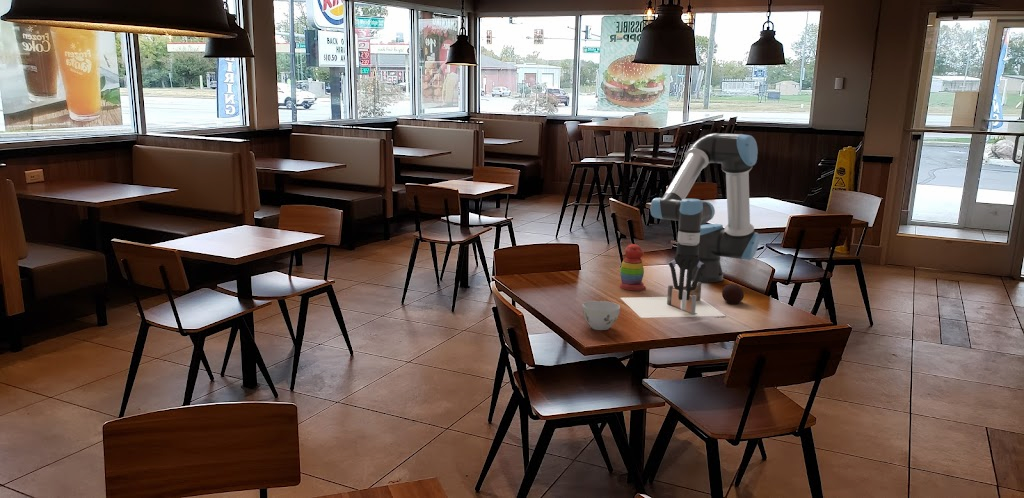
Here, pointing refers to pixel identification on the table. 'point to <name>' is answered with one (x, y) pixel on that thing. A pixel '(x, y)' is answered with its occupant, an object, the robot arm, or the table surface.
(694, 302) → the fence panel
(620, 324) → the table surface
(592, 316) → the teacup
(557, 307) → the table surface
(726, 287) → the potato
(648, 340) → the table surface
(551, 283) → the table surface
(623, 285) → the stacking bear
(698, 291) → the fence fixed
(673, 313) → the board
